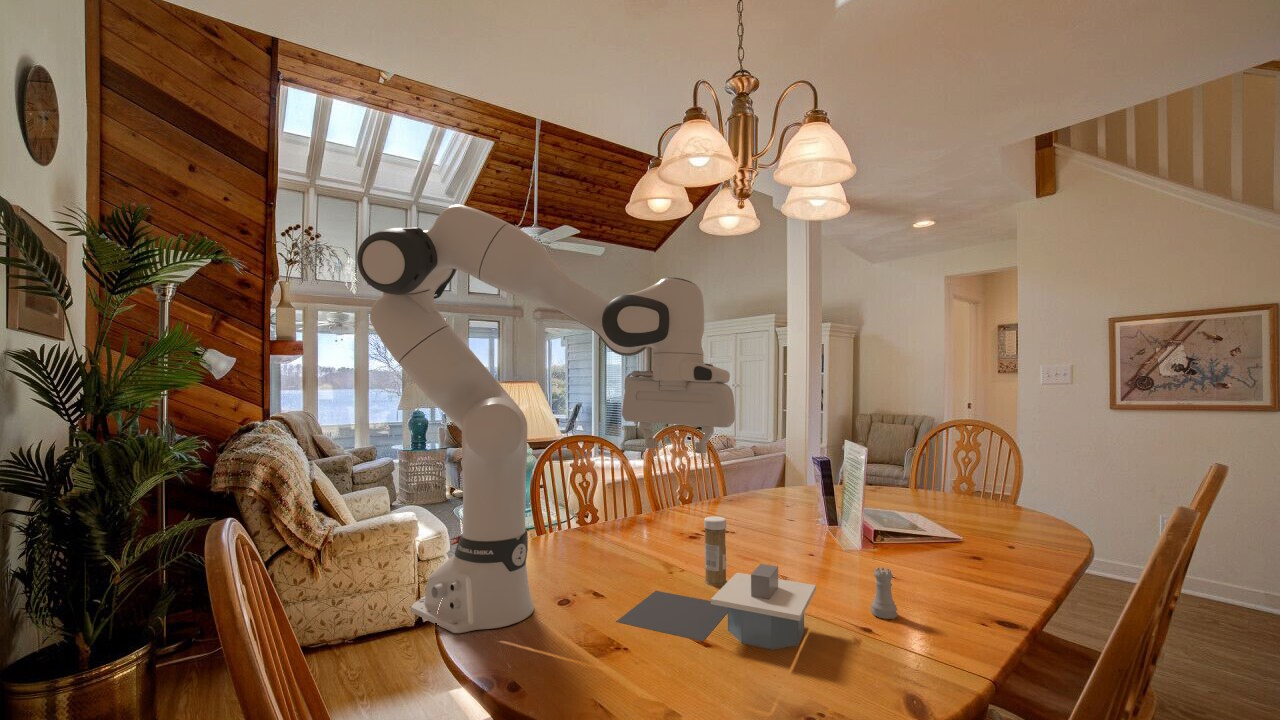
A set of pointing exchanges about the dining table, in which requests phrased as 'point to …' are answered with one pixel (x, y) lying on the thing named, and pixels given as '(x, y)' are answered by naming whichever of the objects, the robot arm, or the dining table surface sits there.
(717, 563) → the sprinkles bottle
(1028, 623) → the dining table surface
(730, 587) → the lid
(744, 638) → the bowl
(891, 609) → the rook chess piece
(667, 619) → the mat
